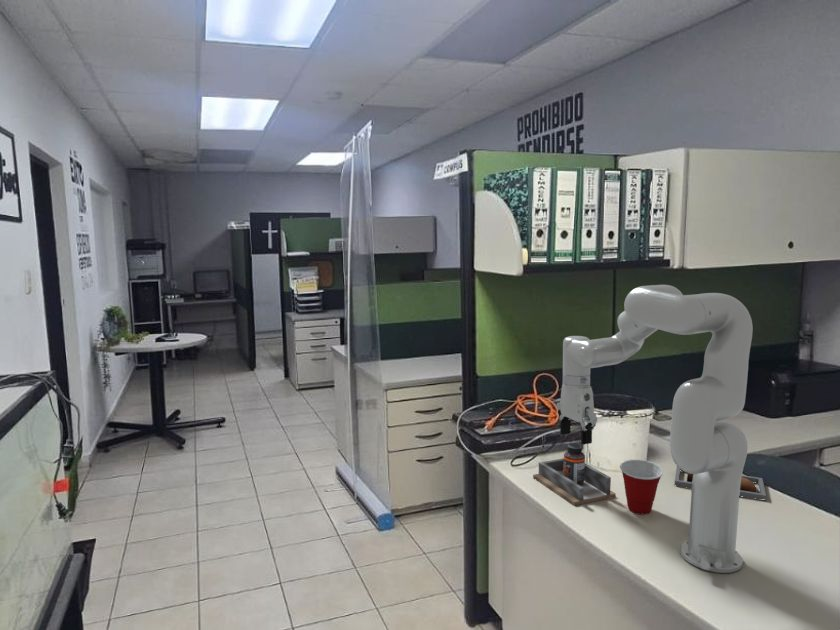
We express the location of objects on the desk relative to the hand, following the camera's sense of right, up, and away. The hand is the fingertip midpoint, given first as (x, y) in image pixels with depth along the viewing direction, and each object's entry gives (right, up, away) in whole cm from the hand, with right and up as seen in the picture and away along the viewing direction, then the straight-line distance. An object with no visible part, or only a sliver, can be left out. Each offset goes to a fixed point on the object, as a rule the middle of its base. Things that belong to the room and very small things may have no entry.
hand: (575, 438), depth 169 cm
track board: (0, -15, +3) cm, 15 cm away
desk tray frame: (+43, -14, +4) cm, 45 cm away
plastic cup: (+14, -17, -12) cm, 25 cm away
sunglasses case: (+44, -15, +4) cm, 46 cm away
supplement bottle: (0, -14, +2) cm, 14 cm away
